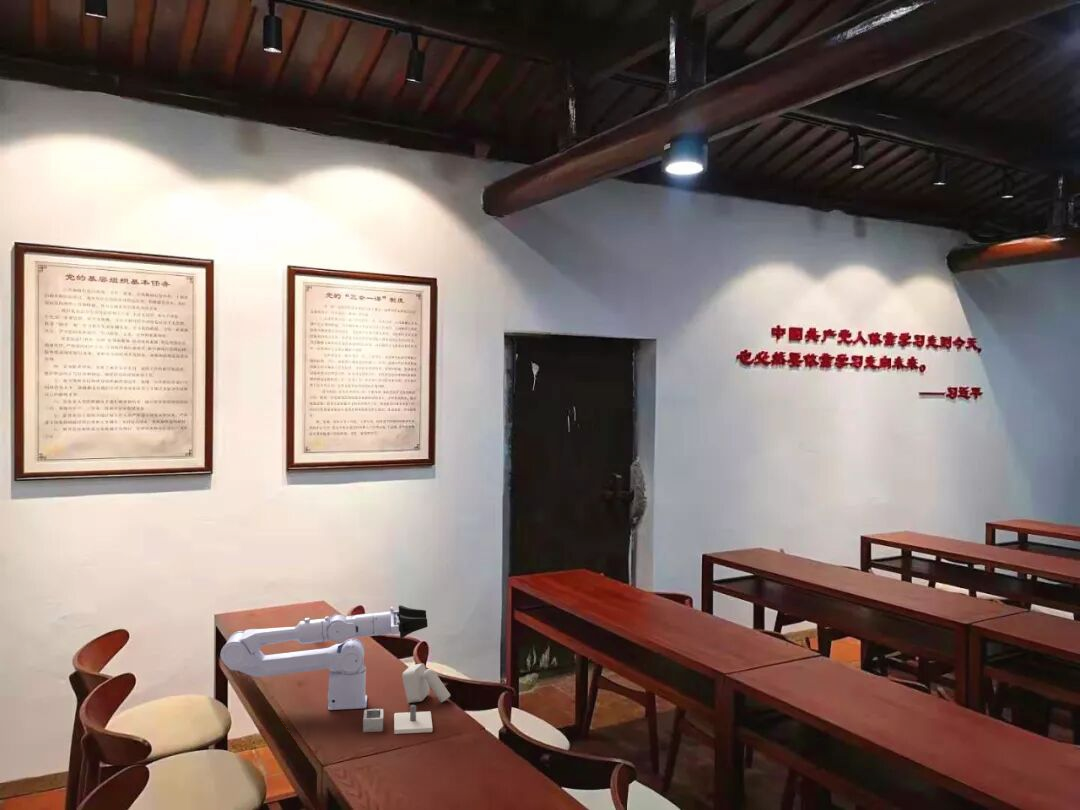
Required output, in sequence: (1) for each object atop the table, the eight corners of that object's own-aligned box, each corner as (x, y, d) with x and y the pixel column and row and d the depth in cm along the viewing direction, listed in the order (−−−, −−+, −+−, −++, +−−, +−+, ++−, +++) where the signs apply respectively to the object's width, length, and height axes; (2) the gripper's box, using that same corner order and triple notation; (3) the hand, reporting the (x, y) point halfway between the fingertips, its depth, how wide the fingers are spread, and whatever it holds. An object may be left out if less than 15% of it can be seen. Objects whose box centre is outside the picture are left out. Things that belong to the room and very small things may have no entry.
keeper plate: (394, 733, 192) (394, 715, 192) (394, 717, 202) (394, 699, 202) (432, 731, 194) (432, 713, 194) (430, 715, 204) (430, 697, 204)
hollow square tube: (382, 731, 194) (383, 718, 194) (363, 732, 193) (363, 719, 193) (383, 720, 200) (383, 708, 200) (363, 721, 199) (364, 709, 199)
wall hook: (446, 706, 208) (438, 667, 209) (409, 711, 210) (401, 673, 211) (455, 694, 216) (448, 657, 216) (420, 700, 218) (412, 663, 218)
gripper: (372, 616, 203) (426, 610, 206) (373, 601, 217) (424, 596, 220) (374, 644, 203) (428, 638, 206) (375, 627, 218) (426, 621, 220)
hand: (426, 618), depth 213 cm, fingers open, 7 cm apart
